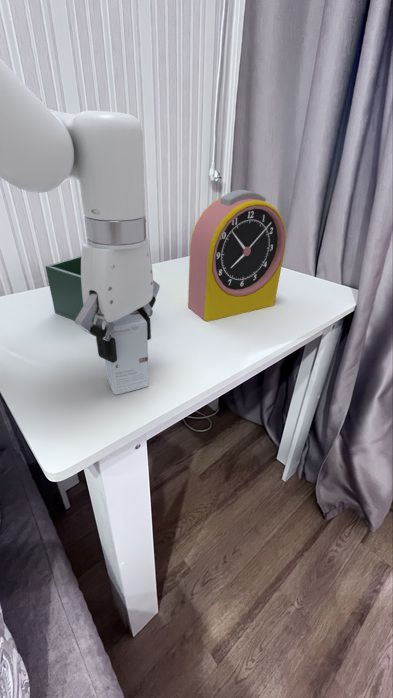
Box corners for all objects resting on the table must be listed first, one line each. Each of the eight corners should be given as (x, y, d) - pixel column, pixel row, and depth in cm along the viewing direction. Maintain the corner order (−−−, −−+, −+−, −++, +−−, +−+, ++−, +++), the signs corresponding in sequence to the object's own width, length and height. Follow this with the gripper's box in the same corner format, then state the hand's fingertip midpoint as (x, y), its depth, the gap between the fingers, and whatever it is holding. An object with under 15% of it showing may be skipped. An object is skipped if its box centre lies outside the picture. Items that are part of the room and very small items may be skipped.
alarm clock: (205, 321, 75) (214, 195, 61) (186, 306, 82) (190, 189, 68) (275, 305, 85) (296, 192, 70) (253, 292, 91) (268, 186, 77)
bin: (100, 331, 70) (94, 281, 64) (55, 312, 76) (45, 266, 70) (145, 307, 80) (143, 262, 75) (101, 292, 87) (96, 250, 81)
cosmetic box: (114, 396, 53) (106, 330, 46) (106, 380, 56) (98, 316, 49) (150, 386, 55) (148, 321, 49) (141, 371, 58) (137, 309, 52)
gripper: (138, 216, 50) (143, 320, 60) (37, 238, 38) (64, 365, 47) (179, 224, 47) (177, 332, 57) (84, 250, 34) (102, 384, 44)
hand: (126, 346), depth 52 cm, fingers closed on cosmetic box, 7 cm apart
